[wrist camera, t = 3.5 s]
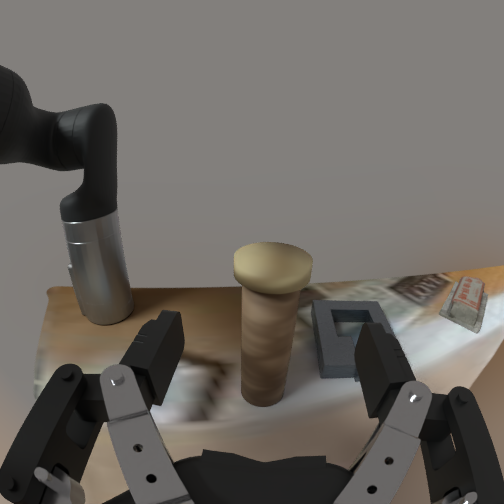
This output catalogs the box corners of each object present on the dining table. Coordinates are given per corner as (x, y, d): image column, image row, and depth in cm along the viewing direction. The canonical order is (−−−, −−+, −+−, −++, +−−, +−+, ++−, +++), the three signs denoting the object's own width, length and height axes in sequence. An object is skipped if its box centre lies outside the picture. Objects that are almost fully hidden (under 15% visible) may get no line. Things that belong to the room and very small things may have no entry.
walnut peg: (232, 409, 27) (227, 273, 19) (238, 369, 32) (239, 240, 25) (289, 412, 26) (317, 278, 19) (288, 372, 32) (308, 244, 25)
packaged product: (487, 315, 33) (445, 295, 40) (477, 336, 35) (437, 316, 42) (492, 282, 43) (460, 267, 50) (485, 300, 45) (454, 285, 52)
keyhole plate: (373, 313, 43) (377, 301, 42) (401, 377, 29) (408, 365, 28) (311, 312, 44) (313, 299, 43) (321, 382, 30) (325, 369, 29)
